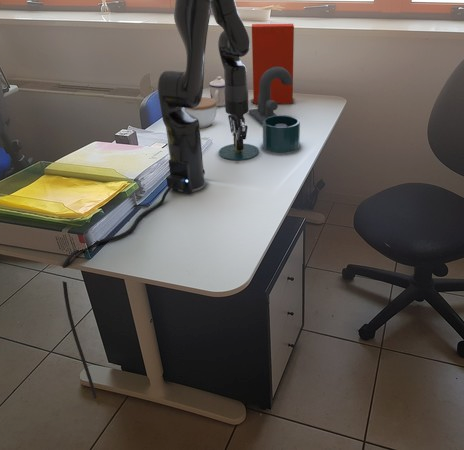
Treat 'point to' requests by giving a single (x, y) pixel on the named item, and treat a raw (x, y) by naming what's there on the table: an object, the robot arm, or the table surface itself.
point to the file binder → (273, 58)
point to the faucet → (269, 93)
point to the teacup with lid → (218, 91)
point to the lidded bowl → (204, 111)
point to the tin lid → (238, 152)
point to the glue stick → (280, 125)
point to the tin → (281, 134)
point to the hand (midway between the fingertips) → (238, 148)
